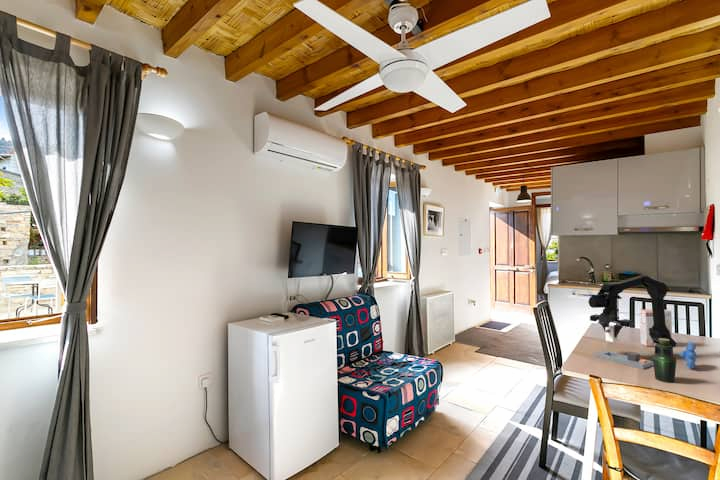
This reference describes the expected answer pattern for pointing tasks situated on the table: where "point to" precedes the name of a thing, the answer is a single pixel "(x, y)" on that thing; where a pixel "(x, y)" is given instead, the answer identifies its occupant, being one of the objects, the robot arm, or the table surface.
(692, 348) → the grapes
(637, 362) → the gray block with hole
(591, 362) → the table surface
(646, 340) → the cracker box
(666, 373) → the potion bottle
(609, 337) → the plug
